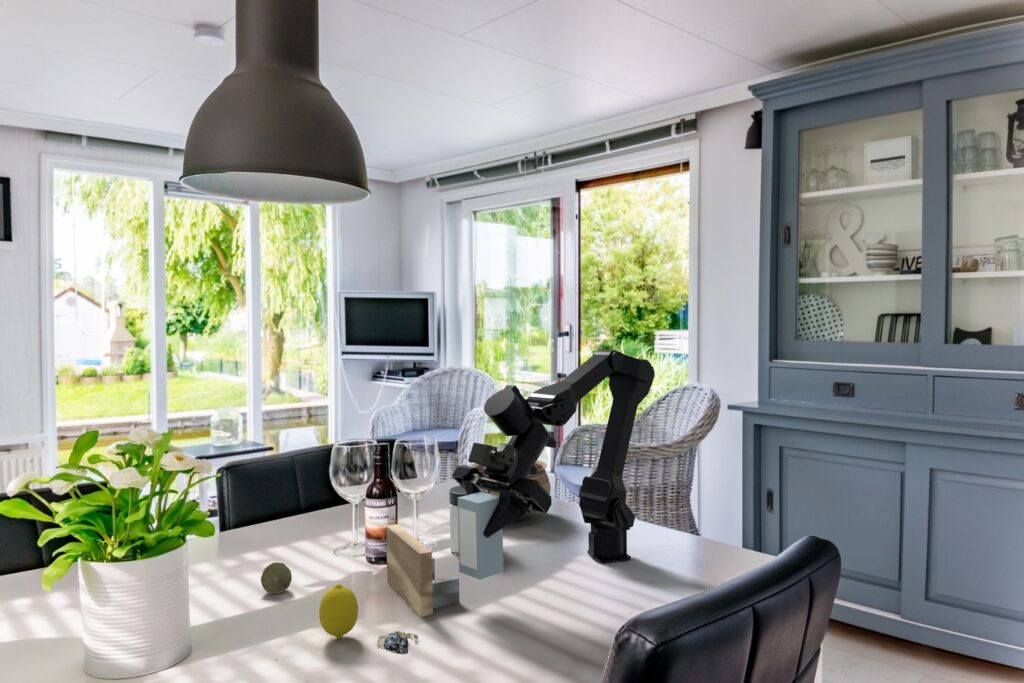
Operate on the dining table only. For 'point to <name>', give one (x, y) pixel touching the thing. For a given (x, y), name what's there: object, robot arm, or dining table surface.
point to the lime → (276, 578)
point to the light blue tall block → (478, 536)
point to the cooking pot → (539, 476)
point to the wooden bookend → (417, 573)
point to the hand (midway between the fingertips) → (473, 532)
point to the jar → (455, 516)
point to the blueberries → (396, 641)
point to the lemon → (338, 611)
